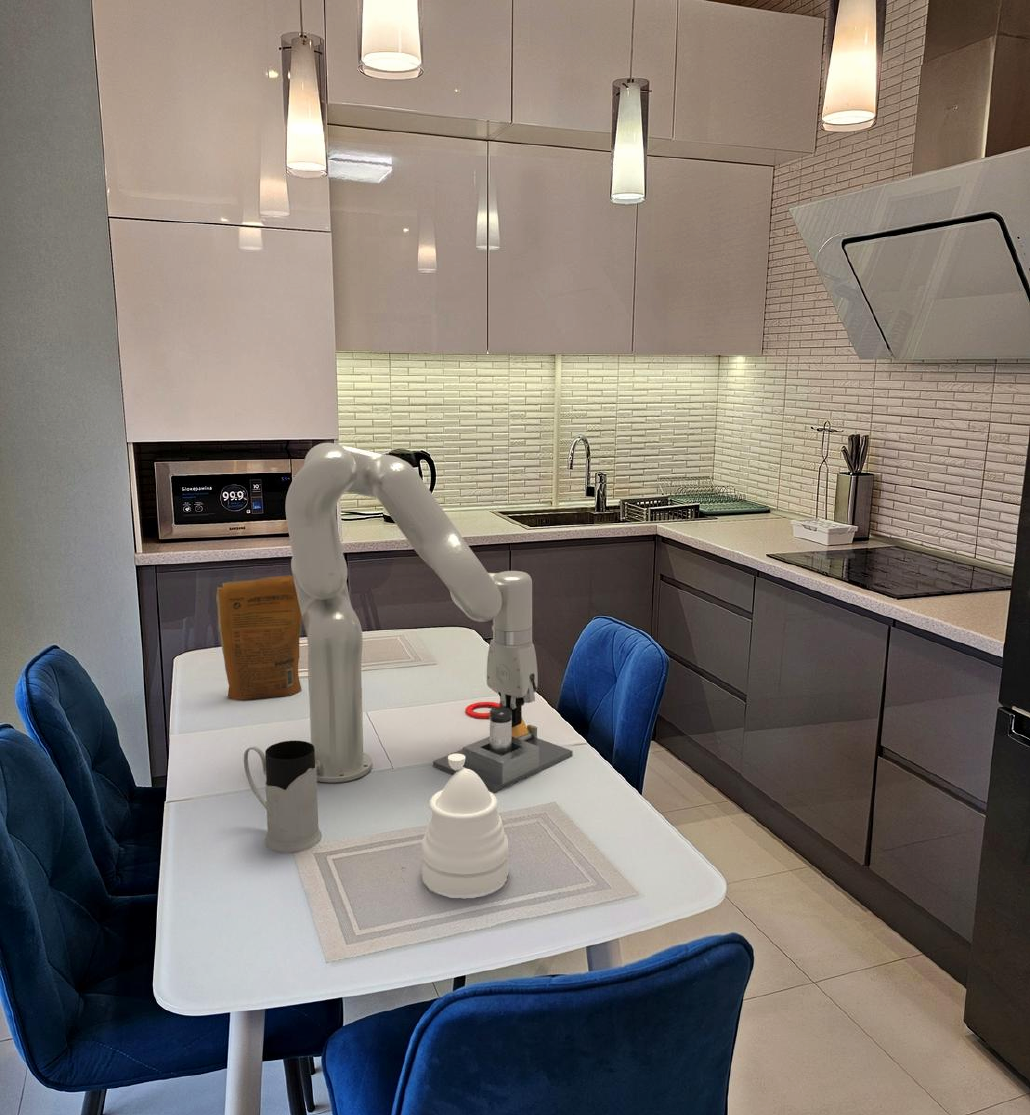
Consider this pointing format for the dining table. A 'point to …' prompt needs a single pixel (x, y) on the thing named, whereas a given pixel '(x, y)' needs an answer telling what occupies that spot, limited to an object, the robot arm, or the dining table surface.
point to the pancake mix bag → (260, 637)
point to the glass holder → (289, 795)
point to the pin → (500, 730)
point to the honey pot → (464, 837)
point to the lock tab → (521, 731)
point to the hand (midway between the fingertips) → (513, 724)
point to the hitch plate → (544, 762)
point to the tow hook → (471, 707)
